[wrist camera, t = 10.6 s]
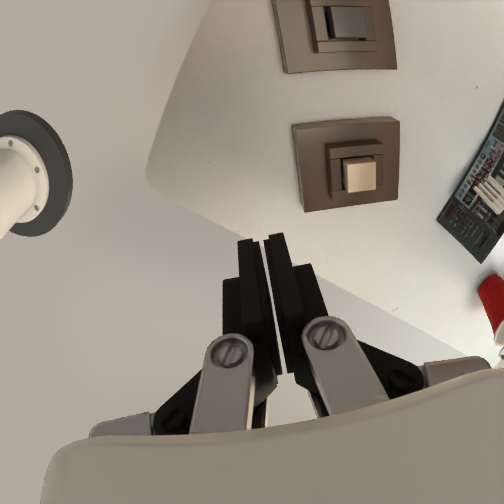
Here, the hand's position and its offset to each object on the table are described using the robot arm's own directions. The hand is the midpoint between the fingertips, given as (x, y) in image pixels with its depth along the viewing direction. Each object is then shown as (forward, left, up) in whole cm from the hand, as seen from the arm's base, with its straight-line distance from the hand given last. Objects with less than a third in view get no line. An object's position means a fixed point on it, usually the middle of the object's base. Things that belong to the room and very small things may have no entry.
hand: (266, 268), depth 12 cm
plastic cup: (+43, -34, -25) cm, 60 cm away
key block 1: (+11, +10, -25) cm, 29 cm away
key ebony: (+11, +10, -21) cm, 26 cm away
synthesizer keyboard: (+33, -8, -25) cm, 42 cm away
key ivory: (+11, -6, -21) cm, 24 cm away
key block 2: (+11, -6, -25) cm, 28 cm away
